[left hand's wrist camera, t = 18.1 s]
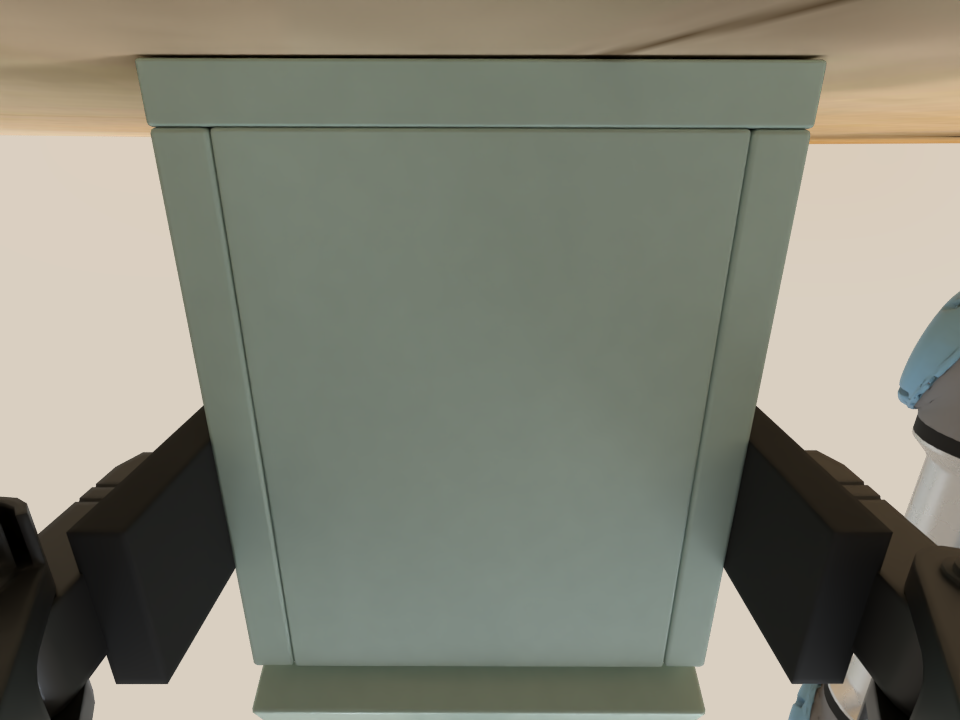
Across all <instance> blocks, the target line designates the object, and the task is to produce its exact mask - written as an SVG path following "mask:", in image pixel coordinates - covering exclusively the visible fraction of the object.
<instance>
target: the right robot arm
mask: <svg viewBox="0 0 960 720" xmlns="http://www.w3.org/2000/svg"><path fill="white" fill-rule="evenodd" d="M898 398H899V400H900V401H901V402H902V403H904V404H906V405H907V406H908V408H911V409H918V415H917V418H916V421H915V424H914V426H913V435H914V436H915V438H916V439H917V441H918V442H919V443H920V445H921V446H922V447H923V449H924V450H925V451H926V454H927V456H926V459H925V462H924V464H923V467H922V470H921V472H920V475H919V478H918V481H917V484H916V486H915V489H914V492H913V495H912V497H911V500H910V503H909V506H908V508H907V511H906V514H905V518H906V519H907V520H909V521H910V522H911V523H912V524H913V525H914V526H916V527H917V528H918V529H919V530H920V531H921V532H923V533H924V534H925V535H926V536H927V537H928V538H930V539H931V540H932V541H933V542H934V543H935V544H936V545H938V546H948V547H954V548H960V292H958V293H957V294H956V295H955V296H953V297H952V298H951V299H950V300H949V301H948V302H947V303H946V304H945V305H944V306H943V307H942V309H941V310H940V311H939V312H938V314H937V315H936V316H935V317H934V319H933V320H932V321H931V323H930V324H929V325H928V327H927V328H926V330H925V331H924V333H923V335H922V336H921V338H920V339H919V341H918V343H917V345H916V346H915V348H914V350H913V352H912V354H911V356H910V358H909V359H908V362H907V364H906V366H905V368H904V371H903V373H902V376H901V379H900V388H899V391H898ZM871 678H872V677H871V675H870V674H869V673H868V671H867V670H866V669H865V667H864V666H863V665H862V663H861V662H860V661H859V659H858V658H857V657H856V655H855V654H854V656H852V658H851V661H850V665H849V668H848V671H847V674H846V677H845V680H844V683H843V684H802V686H801V688H800V690H799V692H798V697H797V701H796V703H795V704H793V706H792V709H791V712H790V716H789V720H857V717H858V715H859V712H860V709H861V706H862V703H863V700H864V698H865V695H866V692H867V689H868V686H869V684H870V681H871Z"/></svg>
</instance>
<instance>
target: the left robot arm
mask: <svg viewBox="0 0 960 720" xmlns="http://www.w3.org/2000/svg"><path fill="white" fill-rule="evenodd" d="M235 568H236V567H235V562H234V557H233V551H232V546H231V541H230V536H229V531H228V526H227V521H226V516H225V511H224V506H223V501H222V496H221V491H220V486H219V481H218V475H217V470H216V465H215V460H214V455H213V450H212V445H211V440H210V435H209V429H208V424H207V419H206V414H205V409H204V406H203V407H201V408H200V409H199V410H198V411H197V412H196V413H195V414H194V415H193V416H192V417H191V418H190V419H189V420H187V421H186V422H185V423H184V424H183V425H182V426H181V427H180V428H179V429H178V430H177V431H175V432H174V433H173V434H172V435H171V436H170V437H169V438H168V439H167V440H166V441H165V442H164V443H162V444H161V445H160V446H159V447H158V448H157V449H156V450H155V451H154V452H143V453H141V454H139V455H137V456H135V457H134V458H132V459H130V460H128V461H126V462H124V463H122V464H120V465H118V466H117V467H115V468H114V469H113V470H112V471H111V472H109V473H108V474H107V475H106V476H105V477H104V478H103V479H101V480H100V481H99V482H98V483H97V484H96V487H92V488H91V489H90V490H89V491H87V492H86V493H85V494H84V495H83V496H82V497H81V498H80V501H79V502H75V503H74V504H73V505H71V506H70V507H69V508H68V509H67V510H66V511H64V512H63V513H62V514H61V515H60V516H59V517H57V518H56V519H55V520H54V521H53V522H52V523H51V524H49V525H48V526H47V527H46V528H45V529H44V530H43V531H41V532H40V533H39V534H37V531H36V528H35V525H34V523H33V520H32V517H31V514H30V511H29V508H28V506H27V503H25V502H23V501H22V500H20V499H18V498H11V497H0V720H92V717H93V711H94V704H95V701H94V694H93V689H92V686H91V684H90V681H89V678H90V676H91V675H92V674H93V672H94V671H95V670H96V668H97V667H98V666H99V664H100V663H101V662H102V660H103V659H104V657H105V656H106V655H107V658H108V661H109V664H110V667H111V670H112V673H113V676H114V679H115V682H116V684H168V682H169V680H170V679H171V677H172V675H173V674H174V672H175V670H176V669H177V667H178V665H179V663H180V662H181V660H182V658H183V657H184V655H185V653H186V651H187V650H188V648H189V646H190V645H191V643H192V641H193V640H194V638H195V636H196V634H197V633H198V631H199V629H200V628H201V626H202V624H203V622H204V621H205V619H206V617H207V616H208V614H209V612H210V610H211V609H212V607H213V605H214V604H215V602H216V600H217V599H218V597H219V595H220V593H221V592H222V590H223V588H224V586H225V585H226V583H227V581H228V580H229V578H230V576H231V574H232V573H233V571H234V569H235ZM724 569H725V570H726V572H727V574H728V576H729V577H730V579H731V581H732V582H733V584H734V586H735V588H736V589H737V591H738V593H739V594H740V596H741V598H742V599H743V601H744V603H745V605H746V606H747V608H748V610H749V611H750V613H751V615H752V617H753V618H754V620H755V622H756V623H757V625H758V627H759V629H760V630H761V632H762V634H763V635H764V637H765V639H766V640H767V642H768V644H769V646H770V647H771V649H772V651H773V652H774V654H775V656H776V658H777V659H778V661H779V663H780V664H781V666H782V668H783V670H784V671H785V673H786V675H787V676H788V678H789V680H790V682H791V683H792V684H843V683H844V680H845V677H846V674H847V671H848V668H849V665H850V661H851V658H852V655H853V653H854V654H855V655H856V657H857V658H858V659H859V661H860V662H861V663H862V665H863V666H864V667H865V669H866V670H867V671H868V673H869V674H870V675H871V677H872V678H871V681H870V684H869V686H868V689H867V692H866V695H865V698H864V700H863V703H862V706H861V709H860V712H859V715H858V717H857V720H960V548H954V547H948V546H938V545H936V544H935V543H934V542H933V541H932V540H931V539H930V538H928V537H927V536H926V535H925V534H924V533H923V532H921V531H920V530H919V529H918V528H917V527H916V526H914V525H913V524H912V523H911V522H910V521H909V520H907V519H906V518H905V517H904V516H903V515H902V514H901V513H899V512H898V511H897V510H896V509H895V508H894V507H892V506H891V505H890V504H889V503H888V502H887V501H885V500H881V499H880V495H878V494H877V493H876V492H875V491H874V490H873V489H871V488H870V487H869V486H868V485H864V482H863V481H862V480H861V479H860V478H859V477H858V476H856V475H855V474H854V473H853V472H852V471H851V470H849V469H848V468H847V467H846V466H845V465H843V464H841V463H840V462H838V461H836V460H834V459H832V458H830V457H828V456H826V455H824V454H822V453H820V452H819V451H816V450H807V451H806V450H803V449H802V448H801V447H800V446H799V445H798V444H797V443H796V442H795V441H794V440H793V439H792V438H790V437H789V436H788V435H787V434H786V433H785V432H784V431H783V430H782V429H781V428H780V427H779V426H777V425H776V424H775V423H774V422H773V421H772V420H771V419H770V418H769V417H768V416H767V415H766V414H764V413H763V412H762V411H761V410H760V409H759V408H758V407H757V406H756V408H755V413H754V418H753V423H752V428H751V433H750V438H749V443H748V448H747V453H746V457H745V462H744V467H743V472H742V477H741V482H740V487H739V492H738V497H737V502H736V507H735V512H734V517H733V522H732V527H731V532H730V537H729V542H728V547H727V552H726V557H725V562H724Z"/></svg>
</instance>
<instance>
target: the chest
mask: <svg viewBox="0 0 960 720" xmlns="http://www.w3.org/2000/svg"><path fill="white" fill-rule="evenodd" d="M135 63H136V68H137V74H138V79H139V84H140V89H141V94H142V99H143V104H144V109H145V114H146V119H147V123H148V125H150V126H152V127H155V128H153V129H152V130H151V138H152V143H153V148H154V153H155V158H156V163H157V168H158V174H159V179H160V184H161V189H162V194H163V199H164V204H165V209H166V215H167V220H168V224H169V230H170V235H171V240H172V245H173V250H174V255H175V261H176V266H177V271H178V276H179V281H180V286H181V291H182V296H183V301H184V307H185V312H186V317H187V322H188V327H189V332H190V337H191V342H192V347H193V353H194V358H195V363H196V368H197V373H198V378H199V383H200V388H201V394H202V399H203V404H204V409H205V414H206V419H207V424H208V429H209V435H210V440H211V445H212V450H213V455H214V460H215V465H216V470H217V475H218V481H219V486H220V491H221V496H222V501H223V506H224V511H225V516H226V521H227V526H228V531H229V536H230V541H231V546H232V551H233V557H234V562H235V567H236V573H237V578H238V583H239V588H240V593H241V598H242V603H243V608H244V614H245V618H246V624H247V629H248V634H249V639H250V644H251V649H252V654H253V660H254V663H255V664H257V665H292V664H293V663H294V661H295V664H296V665H298V666H537V667H661V666H662V665H663V662H664V664H665V665H666V666H702V665H703V664H704V661H705V656H706V651H707V646H708V641H709V636H710V631H711V626H712V621H713V616H714V611H715V606H716V601H717V596H718V591H719V586H720V582H721V576H722V572H723V567H724V562H725V557H726V552H727V547H728V542H729V537H730V532H731V527H732V522H733V517H734V512H735V507H736V502H737V497H738V492H739V487H740V482H741V477H742V472H743V467H744V462H745V457H746V453H747V448H748V443H749V438H750V433H751V428H752V423H753V418H754V413H755V408H756V403H757V398H758V393H759V388H760V383H761V378H762V373H763V368H764V363H765V358H766V353H767V348H768V343H769V338H770V333H771V328H772V323H773V319H774V314H775V309H776V304H777V299H778V294H779V289H780V284H781V279H782V274H783V269H784V264H785V259H786V254H787V249H788V244H789V239H790V234H791V229H792V224H793V219H794V214H795V209H796V204H797V199H798V194H799V189H800V184H801V180H802V175H803V170H804V165H805V160H806V155H807V150H808V145H809V140H810V132H809V131H808V130H806V129H809V128H811V127H813V126H814V123H815V118H816V113H817V108H818V103H819V98H820V93H821V88H822V83H823V78H824V73H825V68H826V61H824V60H748V59H403V58H137V59H135Z"/></svg>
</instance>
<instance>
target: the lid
mask: <svg viewBox="0 0 960 720" xmlns="http://www.w3.org/2000/svg"><path fill="white" fill-rule="evenodd" d="M253 713H255V714H256V715H258V716H259V717H260V718H262V719H263V720H697V719H698V718H700V717H701V716H702V715H704V714H705V707H704V703H703V699H702V695H701V691H700V687H699V682H698V678H697V674H696V670H695V667H694V666H666V665H665V664H664V663H663V665H662V666H661V667H537V666H298V665H296V664H295V662H294V663H293V664H292V665H263V668H262V673H261V676H260V680H259V684H258V688H257V693H256V697H255V701H254V705H253Z"/></svg>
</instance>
